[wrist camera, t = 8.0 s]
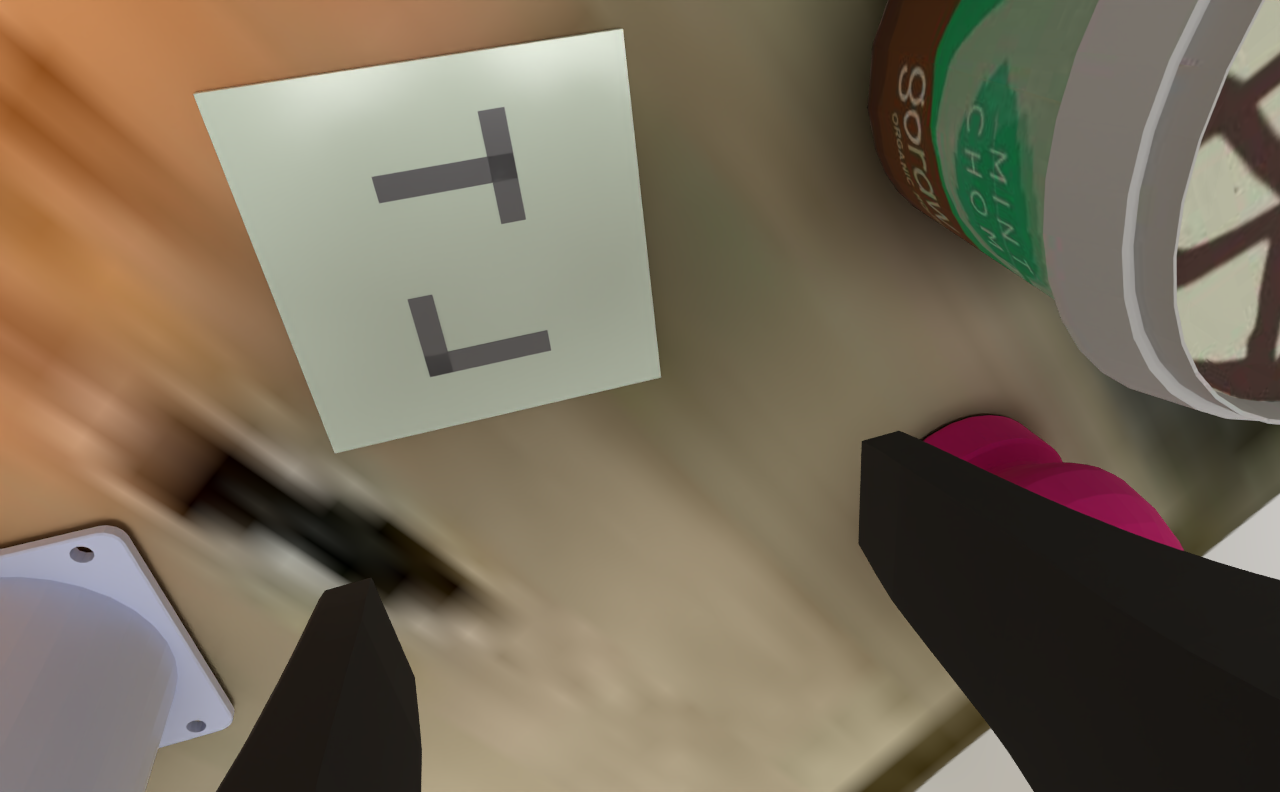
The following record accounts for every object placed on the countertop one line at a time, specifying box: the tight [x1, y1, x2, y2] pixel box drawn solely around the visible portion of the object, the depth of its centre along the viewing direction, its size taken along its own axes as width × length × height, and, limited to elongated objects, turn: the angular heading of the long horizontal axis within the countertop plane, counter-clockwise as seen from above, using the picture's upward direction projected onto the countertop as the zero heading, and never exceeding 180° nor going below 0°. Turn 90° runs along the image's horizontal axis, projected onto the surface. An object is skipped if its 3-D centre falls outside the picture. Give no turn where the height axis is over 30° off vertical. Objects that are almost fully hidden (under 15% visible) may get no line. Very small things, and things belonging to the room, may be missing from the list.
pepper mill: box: [924, 415, 1184, 551], centre depth 19 cm, size 7×7×20 cm
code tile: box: [193, 28, 661, 453], centre depth 19 cm, size 9×9×1 cm
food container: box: [867, 0, 1280, 424], centre depth 16 cm, size 12×6×10 cm, turn 37°
